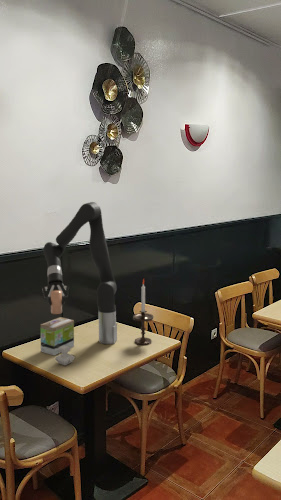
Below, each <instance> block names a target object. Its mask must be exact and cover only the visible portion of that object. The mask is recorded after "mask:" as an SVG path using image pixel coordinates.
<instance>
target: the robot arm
mask: <svg viewBox="0 0 281 500" xmlns="http://www.w3.org/2000/svg"><path fill="white" fill-rule="evenodd" d="M102 214H103V213H102V210H101V206H100V205H99V204H98V202H96V201H90V202H87V203H83V204H82V205H81V206H80V207H79V209H78V211H77V212H76V214H75V215H74V217H73V218H72V220H70V222H69V223H68V224H67V226H65V228H64V229H62V231H61V232H60V233H59V234H58V235H57V236H56V238H55V242H56V243H53V242H51V241H47V242H46V243H45V244H44V246H43V255H44V258H45V261H46V262H47V263H46V265H47V274H46V275H47V286H43V285H42V286H41V290H42V295H43V297H44V299H47V304H48V305H49V306H50V307H51V291H53V290H61V291H62V306H63V305H65V303H66V298H68V297H69V289H70V285H69V284H67V285H64V281H63V271H62V263H61V259H60V257H62V256H63V254H64V252H65V250H66V248H67V247H68V245H69V244H70V242H71V243H72V241H73V240H74V239H75V237H76V236H77V234H78V233H79V231H80V229H82V227H84V226H85V225H86V224H87V223H89V229H90V235H89V245H88V246H89V251H90V256H91V259H92V263H93V264H94V265H95V268H96V269H97V272H98V276H99V282H100V283H99V285H98V286H97V288H96V303H97V304H96V305H97V308H98V309H97V310H98V342H99V343H100V344H103V345H110V344H111V345H112V344H115V343H116V342H117V341H118V323H117V316H116V315H117V309H116V308H117V305H116V304H115V294H116V293H117V288H118V286H117V282H116V279H115V277H114V274H113V271H112V265H111V264H112V263H111V258H110V254H109V253H110V252H109V249H108V243H107V240H106V234H105V231H104V225H103V218H102V217H103V215H102ZM63 290H65V293H64V291H63ZM47 291H49V293H48V294H47Z"/></svg>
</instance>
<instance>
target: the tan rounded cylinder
mask: <svg viewBox="0 0 281 500" xmlns="http://www.w3.org/2000/svg"><path fill="white" fill-rule="evenodd" d="M62 291H63V290H62ZM62 291H61V290H53V291H51V306H50V313H51V314H52V315H60V314H62V313H63V305H62Z"/></svg>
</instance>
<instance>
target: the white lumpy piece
mask: <svg viewBox="0 0 281 500" xmlns="http://www.w3.org/2000/svg"><path fill="white" fill-rule="evenodd" d="M71 349H72V348H70V347H69V346H65V345H64V346H61V347H59V348H58V350H59V351H60V353H61V354H59V355H57V356H56V355H55V359H54V360H55V361H56V362H57V363H58V364H60V365H62V366H68V365H69V364H71V363H73V362H74V360H75V355H72V354H69V353H70V351H71ZM68 352H69V353H68Z"/></svg>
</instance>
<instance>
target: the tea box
mask: <svg viewBox="0 0 281 500" xmlns="http://www.w3.org/2000/svg"><path fill="white" fill-rule="evenodd" d="M64 345H65V346H69V347H70V348H71V349H72V348H74V347H75V321H74V319H69V318H66V317H61V316H60V317H56V318H54V319H52V320H49V321H46V322H44V323H40V352H42V353H44V354H47V355H51V356H55V357H56V355H58V354H60V353H61V352H60V351H59V350H58V348H59V347H61V346H64Z"/></svg>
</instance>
